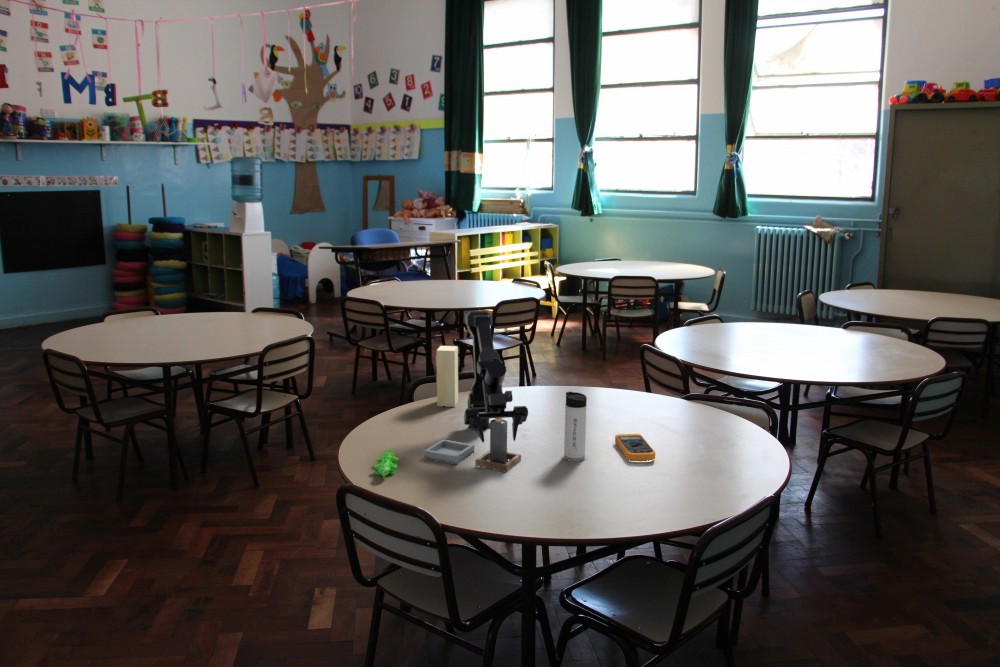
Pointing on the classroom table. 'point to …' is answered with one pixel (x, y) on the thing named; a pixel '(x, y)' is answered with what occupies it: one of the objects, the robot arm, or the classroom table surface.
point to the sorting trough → (449, 451)
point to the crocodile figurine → (386, 464)
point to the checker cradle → (498, 466)
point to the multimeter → (634, 447)
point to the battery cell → (498, 440)
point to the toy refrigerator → (447, 376)
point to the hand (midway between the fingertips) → (499, 441)
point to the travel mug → (575, 426)
